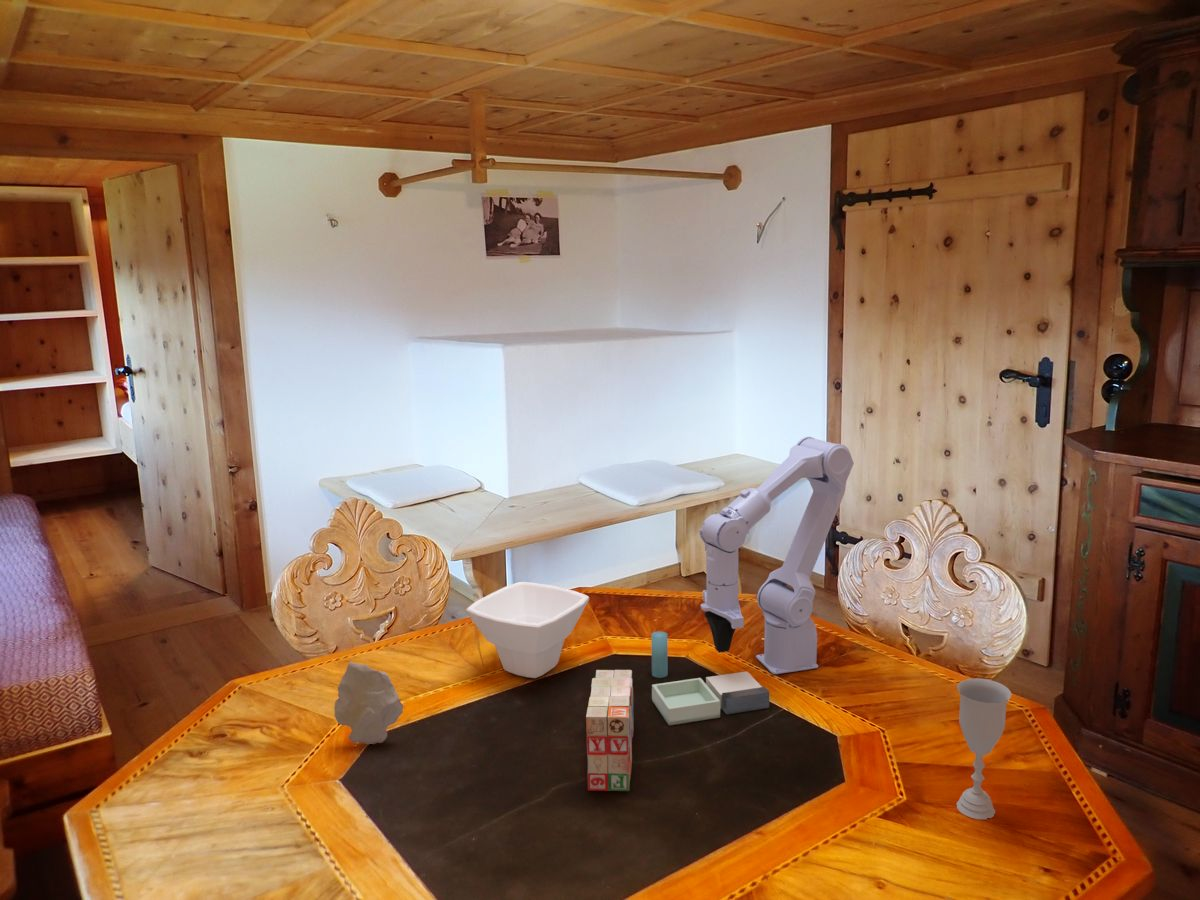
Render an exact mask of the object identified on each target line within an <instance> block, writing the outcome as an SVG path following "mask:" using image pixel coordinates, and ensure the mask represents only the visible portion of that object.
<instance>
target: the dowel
mask: <svg viewBox="0 0 1200 900" xmlns="http://www.w3.org/2000/svg"><path fill="white" fill-rule="evenodd" d="M668 650H669V649H668V633H667V632H665V631H661V630H660V631H658V630H657V631H654V632H652V633H651V676H652V677H654V678H656V679H663V678H665V677H668V674H669V673H668V671H669V670H668V663H669V661H668Z"/></svg>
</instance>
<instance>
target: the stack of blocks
mask: <svg viewBox="0 0 1200 900" xmlns="http://www.w3.org/2000/svg"><path fill="white" fill-rule="evenodd" d="M587 704H588V705H587V709H586V715H585V719H586V720H585V722H586V723H585V724H586V725H585V728H586V754H587V791H594V792H596V791H597V792H600V791H601V792H602V791H603V792H617V791H618V792H629V791H630V781H631V775H632V762H633V753H632V752H633V751H632V750H633V749H632V748H633V747H632V746H633V744H632V743H633V737H634V716H635V715H634V687H633V670H632V669H596V670H595V677H593V678H591V685H590V696H589V699H588V703H587Z"/></svg>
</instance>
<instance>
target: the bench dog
mask: <svg viewBox="0 0 1200 900" xmlns="http://www.w3.org/2000/svg"><path fill="white" fill-rule="evenodd" d="M770 693H771V692H770V691H769V689H768V688H767V687H766V686H762V687H759V688H753V689H746V690H740V691H733V692H726V693H722V709H721V710H722V711H723V712H724V713H725V715H732V714H738V713H745V712H750V711H758V710H764V709H769V708H770Z"/></svg>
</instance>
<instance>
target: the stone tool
mask: <svg viewBox="0 0 1200 900" xmlns="http://www.w3.org/2000/svg"><path fill="white" fill-rule="evenodd" d="M336 689H337V693H338V694H337V696H338V698H337V699H336V700H335V702H334V706H333V707H334V708H333V709H334V716H333V717H335V720H336V722H337V724H339V725H340V726H348V727H349V728H350V729H351V732H350V733H349V735H348V739H349V741H351V743H358V744H365V745H368V746H369V744H373V745H375V744H377V743H378V744H382V743H384V742H385V741H386V739H387V737H388V732H387V729H388V728H389V726H391V725H394V724H395V723H396V722H398V719H399V718H400V717H401V715H402V714H403V712H404V711H403V710H404V704H402V702H401V699H400V697H399V694H398V692H397V691H396V688H395V686H394V684H393V683H392V680H391V678H390V676H389V675H388V674H387V672H385V671H380V670H375V669H374V668H372V667H369V666H368V665H367V664H365V663H364V664H358V663H355V662H353V661H349V663H348V664H347V666H346V670H345V672H344V674H343V675H342V677H341V679H340V682H339V684H338V686H337V688H336Z"/></svg>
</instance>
